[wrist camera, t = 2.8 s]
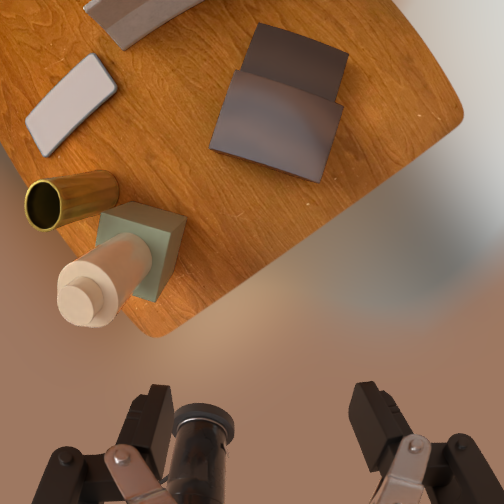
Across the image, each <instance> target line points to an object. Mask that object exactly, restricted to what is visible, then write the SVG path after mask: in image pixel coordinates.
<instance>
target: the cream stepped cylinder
mask: <svg viewBox="0 0 504 504" xmlns="http://www.w3.org/2000/svg"><path fill="white" fill-rule="evenodd" d="M151 267H152V256H151V252H150V249H149V247H148V246H147V244H146V243H145V242H144V241H143V240H142V239H141V238H140V237H139V236H137V235H135V234H132V233H127V232H124V233H118V234H116V235H114V236H112V237H111V238H109V239H107V240H106V241H104V242H102V243H101V244H99V245H98V246H96V247H94V248H93V249H91V250H89V251H88V252H86V253H85V254H83V255H81V256H80V257H78V258H77V259H75V260H74V261H72V262H71V263H69V264H68V265H66V266H65V267H64V268H63V269H62V271H61V273H60V275H59V278H58V284H57V288H58V297H57V304H58V308H59V310H60V312H61V314H62V315H63V317H64V318H65V319H66V320H67V321H68V322H70V323H71V324H73V325H76V326H87V327H93V328H98V327H103V326H105V325H107V324H109V323H110V322H111V321H112V320H113V319H114V318H115V316H116V315H117V314H118V312H119V311H120V310H121V309H122V307H123V306H124V305H125V303H126V302H127V301H128V300H129V298H130V297H131V296H132V294H133V293H134V292H135V291H136V289H137V288H138V287H139V286H140V284H141V283H142V282H143V280H144V279H145V278H146V277H147V275H148V274H149V272H150V270H151Z"/></svg>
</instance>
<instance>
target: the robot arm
mask: <svg viewBox="0 0 504 504" xmlns="http://www.w3.org/2000/svg"><path fill="white" fill-rule="evenodd" d="M349 420H350V422H351V425H352V427H353V430H354V432H355V435H356V437H357V440H358V442H359V445H360V447H361V450H362V453H363V455H364V458H365V460H366V463H367V465H368V468H369V471H370V472H375V471H380V474H381V476H382V477H381V478H380V480H379V483H378V485H377V487H376V489H375V491H374V493H373V495H372V497H371V499H370V501H369V503H368V504H419V502H420V499H421V496H422V493H423V490H424V487H425V489H426V491H427V494H428V496H429V499H430V501H431V504H504V490H503V488H502V487H501V485H500V483H499V481H498V480H497V478H496V476H495V474H494V473H493V471H492V469H491V468H490V466H489V464H488V463H487V461H486V459H485V458H484V456H483V454H482V453H481V451H480V450H479V448H478V446H477V445H476V443H475V442H474V440H473V439H472V438H471V437H470V436H468V435H466V434H461V433H458V434H454V435H452V436H451V437H450V438H449V440H448V442H447V443H430V442H429V440H428V439H427V438H425V437H424V436H421V435H417V434H414V433H413V432H412V430H411V428H410V427H409V425H408V423H407V421H406V420H405V418H404V416H403V415H402V413H401V412H400V409H399V408H398V406H396V403H395V401H394V399H393V398H392V397H391V396H390V395H389V394H388V393H386V392H385V391H384V390H383V391H379V390H378V388H377V386H376V384H375V383H374V382H373V381H370V382H362V383H357V384H356V385H355V388H354V392H353V396H352V399H351V402H350V405H349ZM173 424H174V408H173V402H172V395H171V389H170V386H166V385H156V384H152V385H151V388H150V390H149V393H148V395H142V394H140V395H139V396H138V397H137V398H136V399H135V400H133V402H132V404H131V406H130V409H129V412H128V414H127V417H126V419H125V422H124V424H123V427H122V429H121V432H120V434H119V437H118V440H117V442H116V445H115V446H112V447H111V448H109V449H108V450H107V451H106V453H104V454H99V455H82V453H81V452H80V451H79V450H78V449H76V448H73V447H68V446H65V447H61V448H58V449H57V450H55V451H54V452H53V453H52V455H51V457H50V460H49V462H48V465H47V467H46V469H45V471H44V474H43V476H42V479H41V481H40V484H39V486H38V489H37V491H36V494H35V496H34V499H33V501H32V504H104V502H108V501H126V503H127V504H225V475H226V453H227V456H229V453H228V450H227V447H226V445H227V430H226V428H225V427H224V425H222V424H221V423H220V422H218V421H217V420H214V419H212V418H208V417H203V416H194V417H189V418H186V419H184V420H182V421H181V422H180V423H179V425H178V428H177V435H176V440H175V445H174V450H173V455H172V461H171V466H170V471H169V474H168V475H167V476H166V477H165V478H163V479H162V476H163V472H164V467H165V462H166V457H167V452H168V447H169V442H170V438H171V433H172V429H173ZM167 480H168V481H167ZM158 481H159V482H158ZM166 481H167V488H166V489H165V488H163V487H162V486H161V484H163V483H164V482H166Z"/></svg>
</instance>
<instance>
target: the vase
mask: <svg viewBox="0 0 504 504" xmlns="http://www.w3.org/2000/svg"><path fill="white" fill-rule="evenodd" d="M118 197H119V187H118V183H117V181H116V179H115V177H114V176H113V175H112V174H111V173H109V172H107V171H105V170H95V171H91V172H85V173H80V174H74V175H68V176H62V177H53V178H46V179H40V180H38V181H36V182H34V183H33V184H32V185H31V186H30V187H29V189H28V191H27V194H26V196H25V203H24V206H25V207H24V208H25V213H26V217H27V219H28V221H29V223H30V225H32V227H34V228H35V229H36V230H38V231H41V232H49V231H51V230H54V229H56V228H59V227H61V226H64V225H66V224H69V223H72V222H75V221H78V220H81V219H84V218H87V217H92V216H95V215H99V214H101V212H103V211H106V210H109V209H111V208H113V207H114V206H115V205H116V203H117V200H118Z"/></svg>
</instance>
